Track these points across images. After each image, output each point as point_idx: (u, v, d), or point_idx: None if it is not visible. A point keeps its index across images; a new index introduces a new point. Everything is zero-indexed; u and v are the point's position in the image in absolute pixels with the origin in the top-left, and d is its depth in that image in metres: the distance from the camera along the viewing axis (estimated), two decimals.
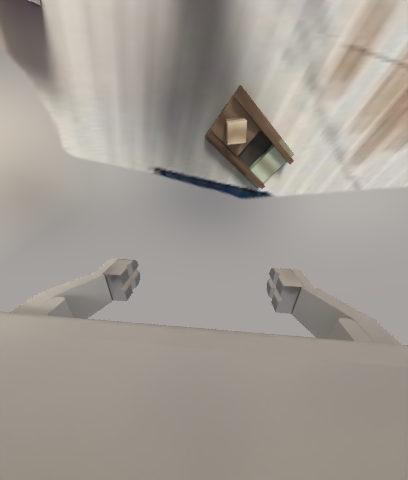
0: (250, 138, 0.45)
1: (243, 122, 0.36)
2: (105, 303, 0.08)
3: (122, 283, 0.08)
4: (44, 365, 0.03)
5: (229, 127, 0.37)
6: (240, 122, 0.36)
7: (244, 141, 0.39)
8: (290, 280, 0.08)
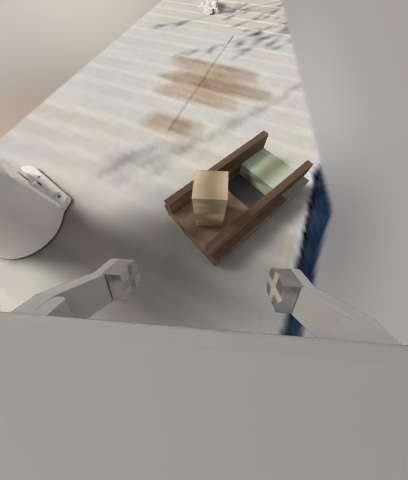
0: None
1: (196, 174, 0.21)
2: (105, 303, 0.08)
3: (122, 283, 0.08)
4: (44, 365, 0.03)
5: (199, 195, 0.19)
6: (195, 179, 0.20)
7: (226, 173, 0.21)
8: (291, 280, 0.08)
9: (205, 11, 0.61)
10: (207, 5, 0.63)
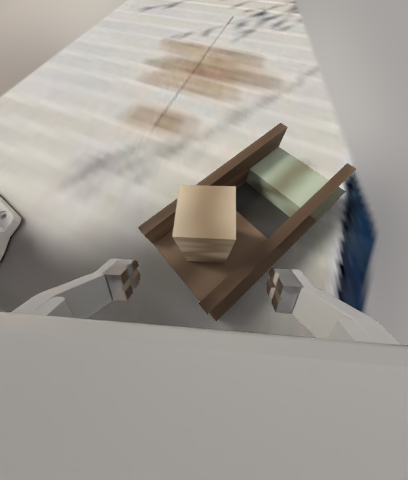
0: None
1: (181, 193, 0.12)
2: (105, 303, 0.08)
3: (122, 283, 0.08)
4: (44, 365, 0.03)
5: (185, 231, 0.11)
6: (179, 200, 0.12)
7: (231, 189, 0.12)
8: (290, 280, 0.08)
9: None
10: None
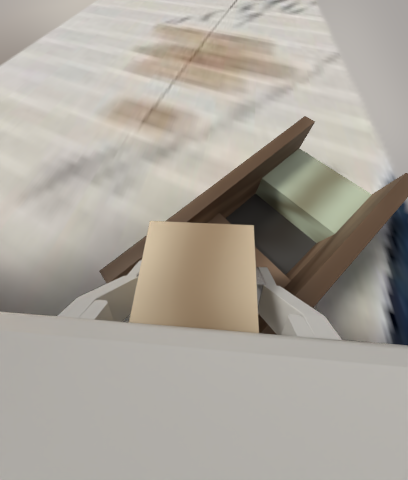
0: None
1: (152, 238, 0.07)
2: None
3: None
4: (44, 365, 0.03)
5: None
6: (148, 254, 0.06)
7: (246, 231, 0.06)
8: None
9: None
10: None
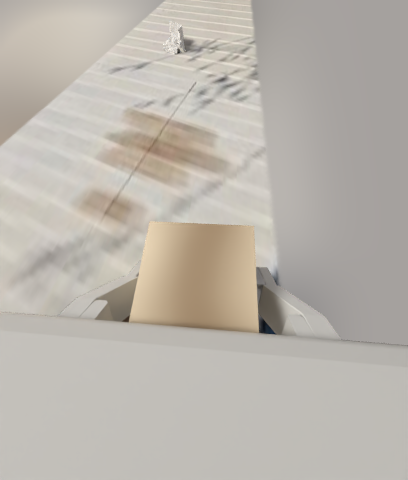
0: None
1: (152, 239, 0.06)
2: None
3: None
4: (44, 365, 0.03)
5: None
6: (147, 255, 0.06)
7: (246, 232, 0.06)
8: None
9: (170, 50, 0.56)
10: (173, 43, 0.57)
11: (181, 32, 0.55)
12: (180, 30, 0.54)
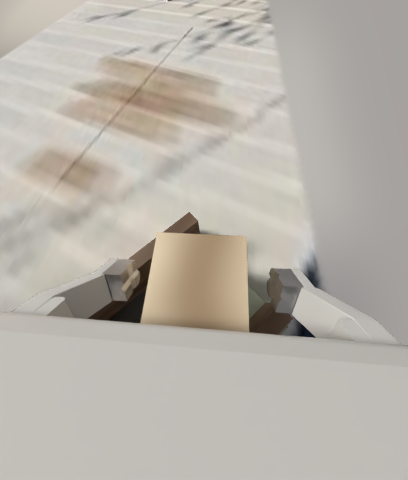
0: None
1: (159, 247, 0.08)
2: (105, 303, 0.08)
3: (122, 283, 0.08)
4: (44, 365, 0.03)
5: (162, 323, 0.06)
6: (156, 261, 0.07)
7: (240, 242, 0.08)
8: (290, 280, 0.08)
9: None
10: None
11: None
12: None
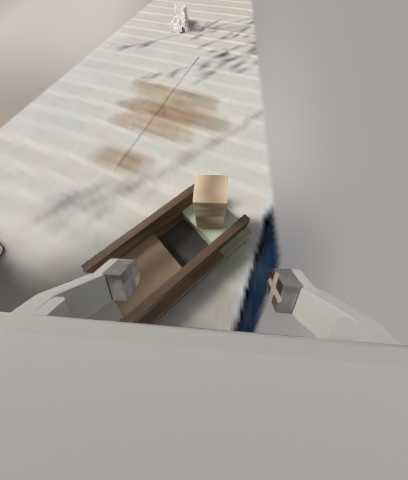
0: (161, 247, 0.27)
1: (196, 179, 0.21)
2: (105, 303, 0.08)
3: (122, 283, 0.08)
4: (44, 365, 0.03)
5: (199, 199, 0.20)
6: (196, 183, 0.21)
7: (225, 177, 0.21)
8: (290, 280, 0.08)
9: (175, 29, 0.59)
10: (177, 23, 0.61)
11: (185, 12, 0.59)
12: (185, 10, 0.58)
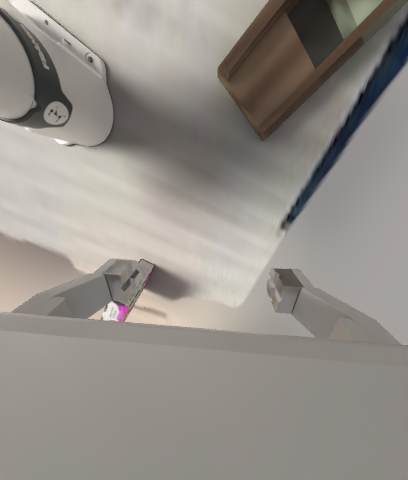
0: (293, 36, 0.24)
1: None
2: (105, 303, 0.08)
3: (122, 283, 0.08)
4: (44, 365, 0.03)
5: None
6: None
7: None
8: (291, 280, 0.08)
9: None
10: None
11: None
12: None
